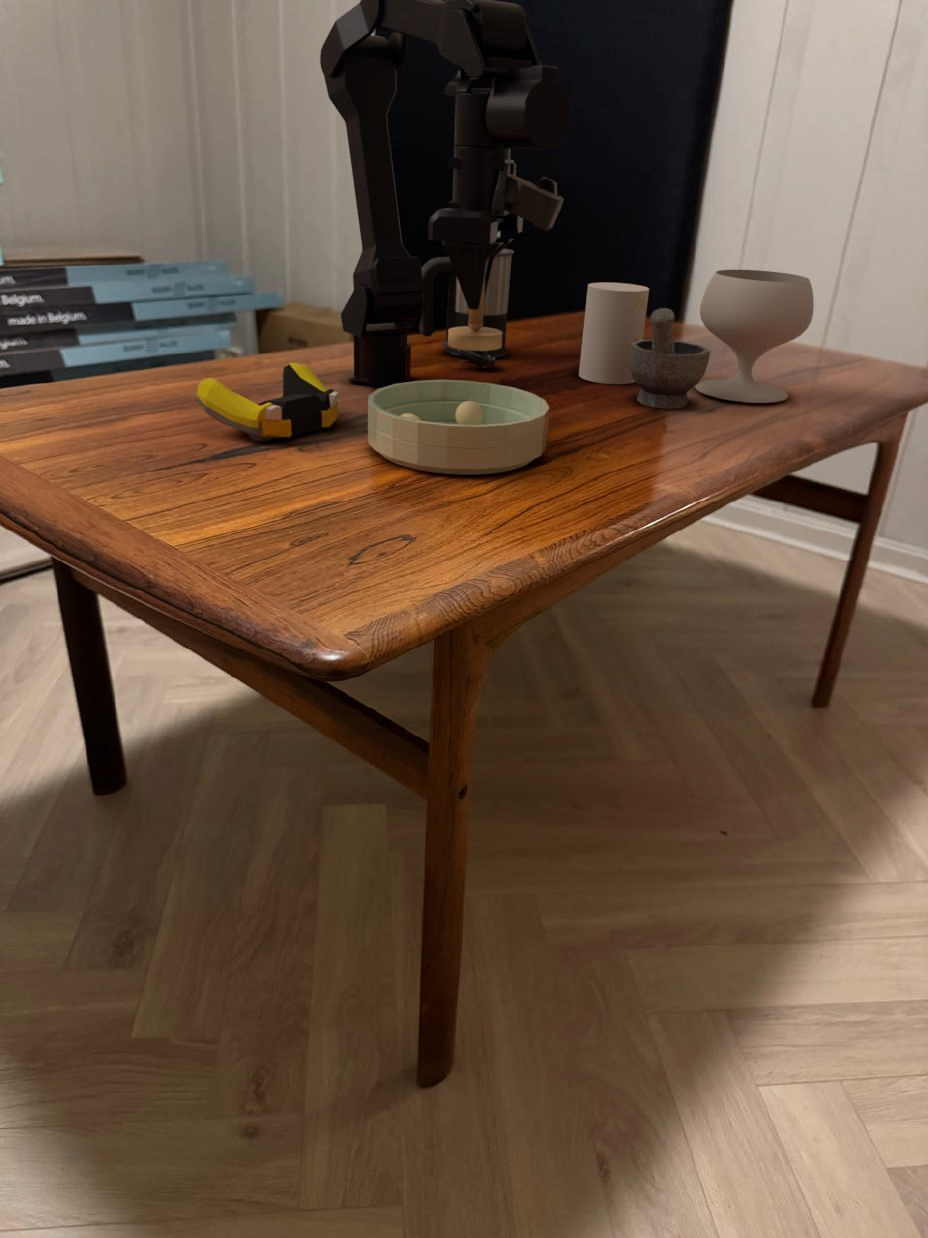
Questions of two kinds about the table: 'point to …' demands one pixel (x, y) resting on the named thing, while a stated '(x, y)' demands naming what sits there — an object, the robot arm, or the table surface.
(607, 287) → the tall cream tube
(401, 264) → the robot arm
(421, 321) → the milk frother
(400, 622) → the table surface
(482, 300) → the stirrer
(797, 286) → the chalice
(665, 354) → the mortar and pestle
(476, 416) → the dumpling
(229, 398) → the gaming controller
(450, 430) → the bowl
